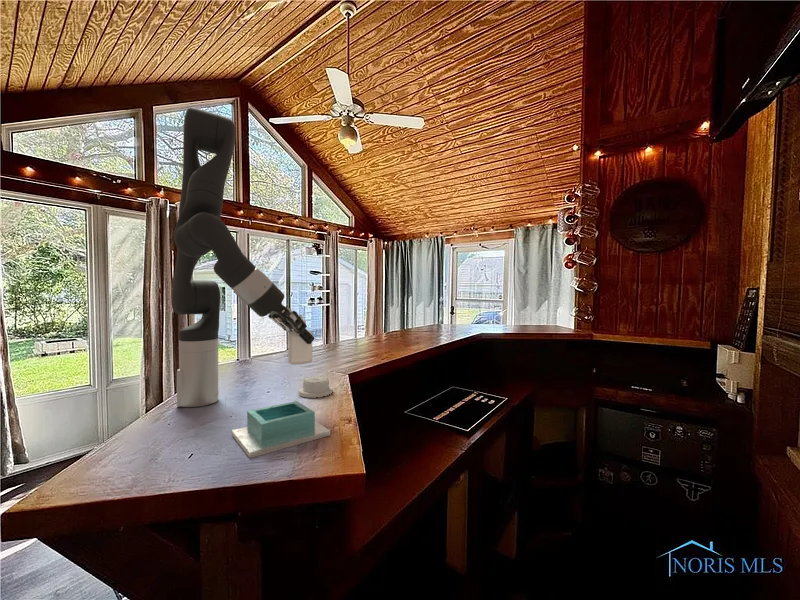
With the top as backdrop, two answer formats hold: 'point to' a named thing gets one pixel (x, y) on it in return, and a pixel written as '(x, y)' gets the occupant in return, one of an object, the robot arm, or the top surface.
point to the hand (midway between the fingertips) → (307, 340)
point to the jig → (278, 428)
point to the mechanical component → (315, 387)
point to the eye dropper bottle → (299, 348)
